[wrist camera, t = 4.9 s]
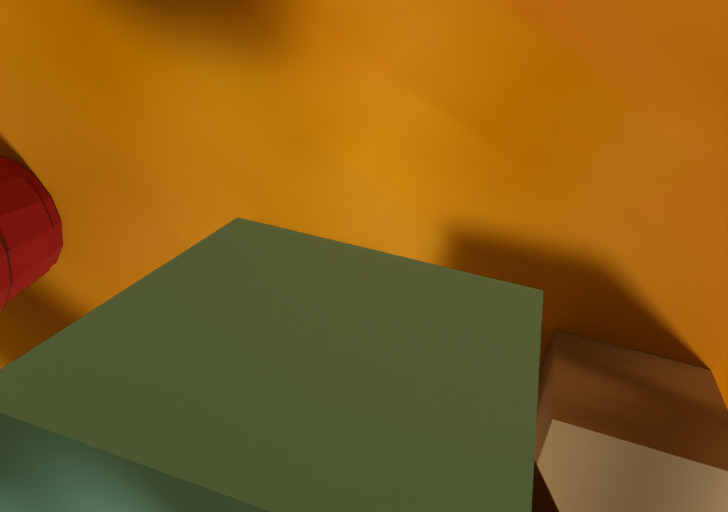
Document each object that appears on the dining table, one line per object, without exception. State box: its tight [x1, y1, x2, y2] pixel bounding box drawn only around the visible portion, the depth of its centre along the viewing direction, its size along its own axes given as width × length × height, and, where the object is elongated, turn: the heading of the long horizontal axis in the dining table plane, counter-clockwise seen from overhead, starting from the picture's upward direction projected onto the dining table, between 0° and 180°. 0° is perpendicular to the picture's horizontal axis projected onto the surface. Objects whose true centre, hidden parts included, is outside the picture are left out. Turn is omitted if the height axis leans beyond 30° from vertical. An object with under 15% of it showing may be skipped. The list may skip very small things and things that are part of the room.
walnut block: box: [534, 329, 728, 512], centre depth 18 cm, size 5×5×5 cm
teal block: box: [0, 218, 544, 512], centre depth 8 cm, size 5×5×5 cm
